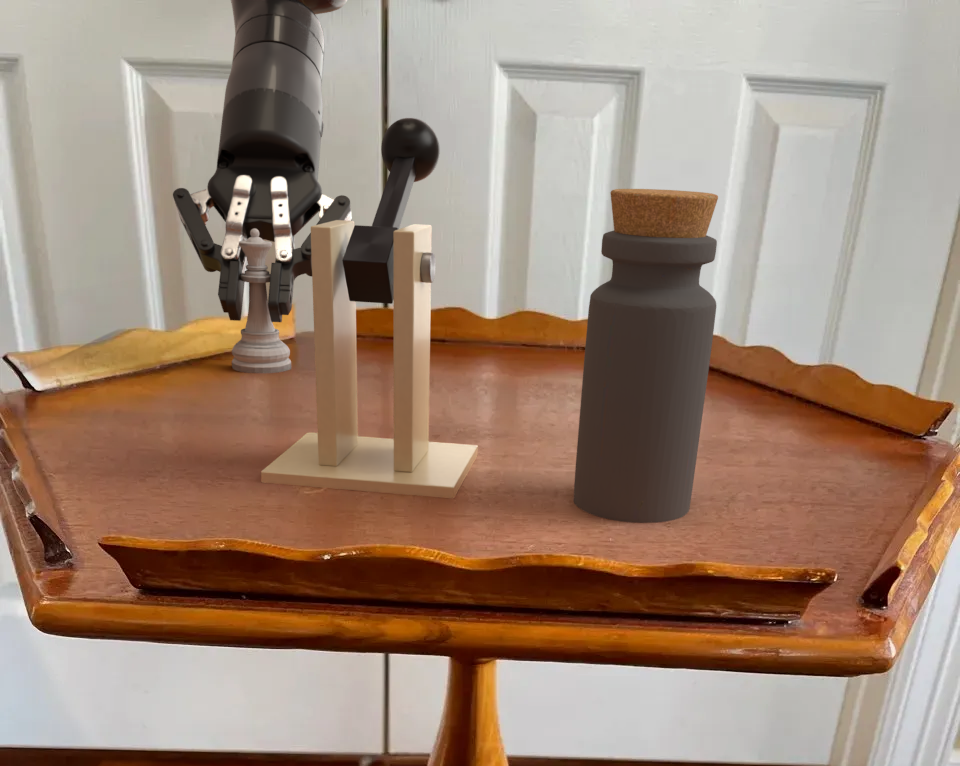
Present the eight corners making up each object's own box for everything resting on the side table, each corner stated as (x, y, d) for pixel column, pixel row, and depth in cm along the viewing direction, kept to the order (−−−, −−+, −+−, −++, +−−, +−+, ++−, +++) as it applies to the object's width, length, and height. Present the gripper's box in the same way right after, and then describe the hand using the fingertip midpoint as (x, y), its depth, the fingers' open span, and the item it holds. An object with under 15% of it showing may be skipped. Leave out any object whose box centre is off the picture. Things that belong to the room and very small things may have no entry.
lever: (391, 159, 59) (384, 104, 56) (446, 162, 58) (441, 106, 55) (340, 307, 51) (330, 252, 49) (403, 311, 51) (396, 255, 48)
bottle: (609, 541, 48) (643, 194, 42) (551, 502, 53) (574, 186, 46) (711, 527, 50) (759, 196, 44) (647, 491, 55) (682, 188, 49)
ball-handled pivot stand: (308, 452, 60) (298, 215, 54) (477, 465, 59) (486, 224, 53) (261, 494, 53) (245, 226, 47) (453, 510, 51) (460, 237, 46)
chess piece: (225, 375, 76) (215, 229, 71) (240, 363, 79) (231, 224, 75) (285, 377, 75) (278, 232, 71) (296, 365, 79) (291, 227, 75)
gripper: (169, 80, 75) (142, 276, 70) (359, 89, 76) (347, 285, 70) (192, 158, 82) (168, 342, 77) (365, 166, 83) (354, 349, 77)
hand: (254, 313), depth 74 cm, fingers closed on chess piece, 2 cm apart
